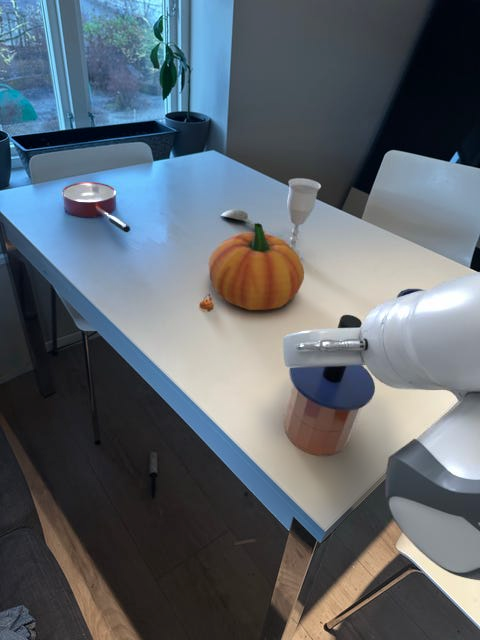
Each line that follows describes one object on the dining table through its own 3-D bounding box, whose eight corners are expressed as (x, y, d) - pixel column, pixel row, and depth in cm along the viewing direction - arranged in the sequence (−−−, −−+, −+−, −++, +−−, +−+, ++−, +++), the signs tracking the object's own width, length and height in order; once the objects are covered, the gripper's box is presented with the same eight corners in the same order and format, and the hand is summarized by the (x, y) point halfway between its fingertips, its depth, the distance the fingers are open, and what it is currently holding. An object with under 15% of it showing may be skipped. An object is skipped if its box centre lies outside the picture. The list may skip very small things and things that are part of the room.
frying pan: (163, 243, 106) (162, 218, 102) (112, 256, 99) (109, 229, 95) (103, 194, 125) (101, 172, 121) (56, 202, 118) (53, 179, 114)
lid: (384, 381, 62) (410, 321, 56) (352, 428, 53) (379, 363, 48) (311, 345, 66) (329, 286, 61) (272, 383, 58) (288, 319, 52)
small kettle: (196, 304, 88) (197, 293, 86) (210, 301, 89) (211, 290, 87) (202, 312, 86) (202, 301, 84) (216, 310, 87) (217, 298, 85)
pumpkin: (312, 315, 89) (329, 248, 80) (219, 323, 84) (225, 253, 75) (280, 265, 103) (291, 204, 94) (199, 270, 98) (202, 205, 89)
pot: (358, 425, 67) (377, 378, 61) (331, 468, 61) (349, 420, 55) (303, 394, 71) (316, 347, 65) (271, 431, 65) (282, 382, 59)
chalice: (286, 266, 103) (300, 191, 92) (270, 253, 108) (281, 179, 97) (311, 261, 107) (327, 188, 96) (294, 248, 111) (308, 177, 100)
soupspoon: (235, 213, 125) (216, 219, 122) (236, 202, 123) (216, 207, 120) (288, 244, 112) (268, 251, 108) (289, 232, 110) (269, 239, 106)
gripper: (308, 381, 40) (269, 380, 53) (506, 371, 44) (423, 373, 57) (303, 311, 41) (266, 328, 54) (498, 308, 45) (418, 324, 58)
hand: (348, 351), depth 56 cm, fingers open, 8 cm apart
